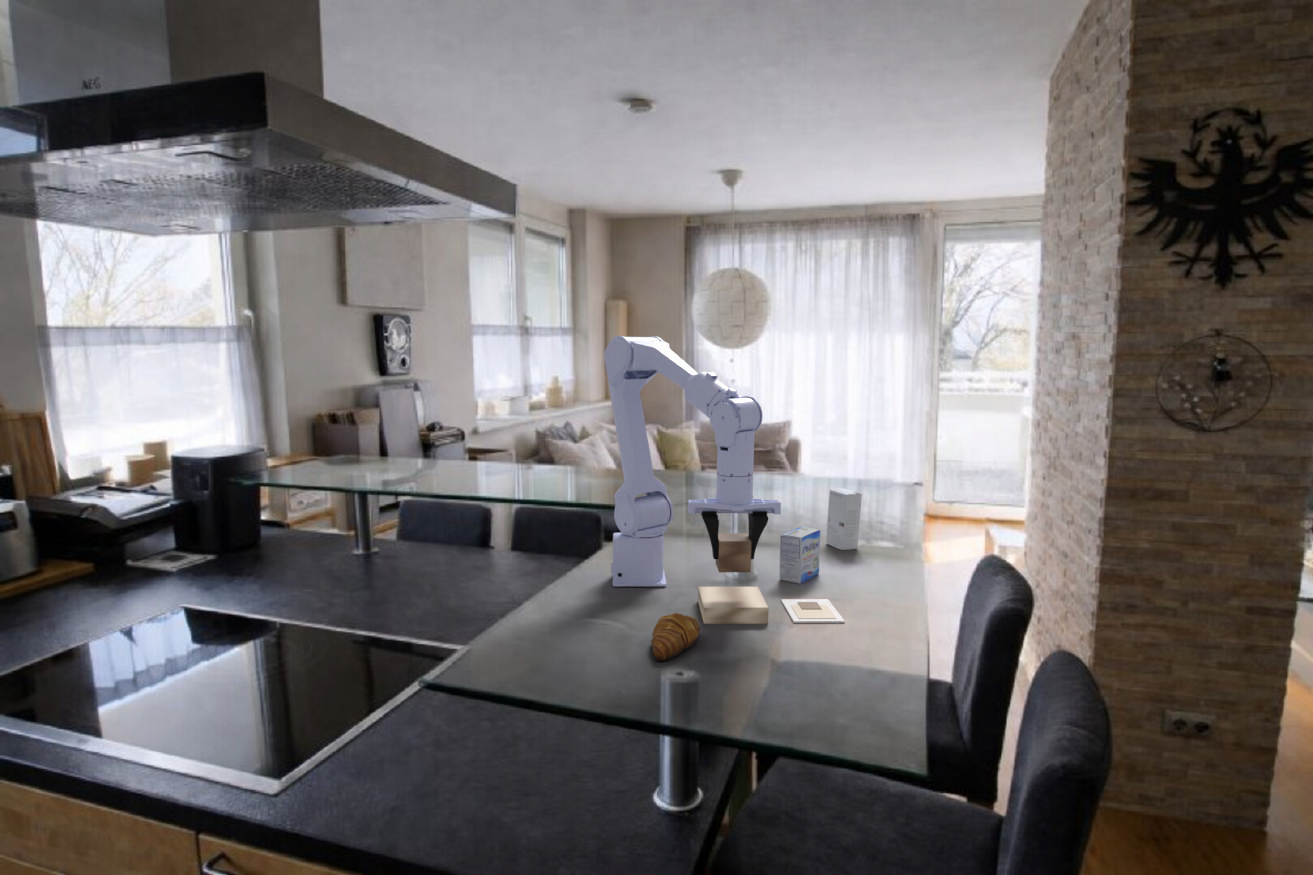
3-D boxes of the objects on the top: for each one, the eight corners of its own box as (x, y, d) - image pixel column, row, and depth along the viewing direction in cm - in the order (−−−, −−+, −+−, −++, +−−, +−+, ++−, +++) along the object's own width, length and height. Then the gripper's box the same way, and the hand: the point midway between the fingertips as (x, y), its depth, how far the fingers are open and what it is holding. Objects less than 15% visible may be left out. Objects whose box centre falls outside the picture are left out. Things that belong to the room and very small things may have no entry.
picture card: (793, 623, 117) (793, 620, 117) (780, 600, 127) (781, 598, 127) (844, 622, 117) (844, 619, 117) (828, 600, 127) (828, 598, 127)
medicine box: (800, 585, 136) (802, 538, 134) (778, 580, 138) (779, 534, 137) (819, 574, 142) (821, 529, 141) (798, 569, 144) (799, 525, 143)
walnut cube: (718, 572, 118) (719, 541, 118) (715, 563, 123) (716, 533, 123) (750, 572, 118) (751, 541, 118) (746, 563, 123) (746, 533, 123)
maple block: (703, 626, 117) (704, 607, 116) (698, 604, 126) (698, 586, 126) (767, 626, 117) (768, 607, 117) (757, 603, 127) (757, 586, 126)
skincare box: (825, 543, 163) (827, 488, 162) (842, 541, 165) (844, 487, 163) (842, 551, 158) (844, 494, 156) (859, 549, 159) (862, 492, 158)
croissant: (671, 626, 116) (671, 595, 115) (713, 633, 113) (713, 601, 113) (634, 660, 104) (634, 625, 103) (680, 669, 101) (681, 633, 100)
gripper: (691, 478, 115) (689, 564, 116) (785, 478, 115) (783, 564, 117) (687, 470, 122) (686, 552, 123) (776, 470, 122) (774, 552, 124)
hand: (733, 557), depth 120 cm, fingers closed on walnut cube, 5 cm apart
